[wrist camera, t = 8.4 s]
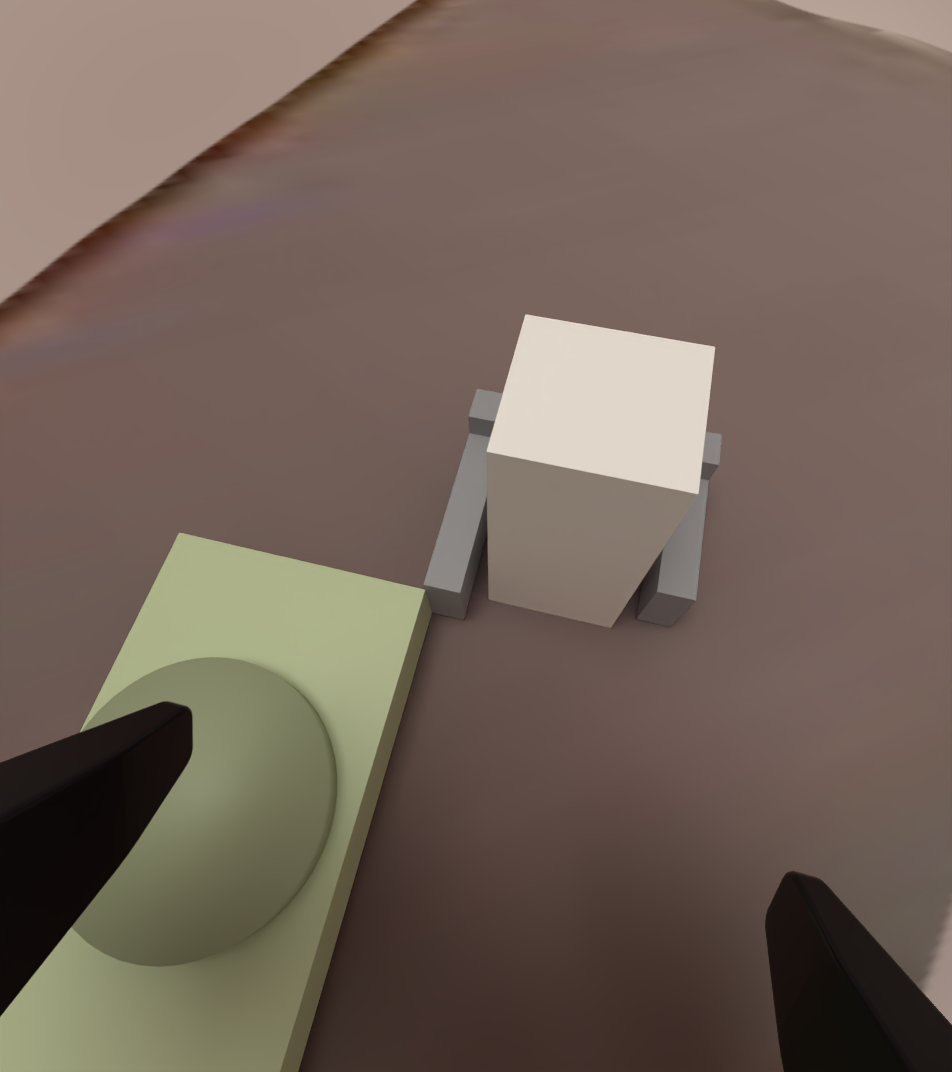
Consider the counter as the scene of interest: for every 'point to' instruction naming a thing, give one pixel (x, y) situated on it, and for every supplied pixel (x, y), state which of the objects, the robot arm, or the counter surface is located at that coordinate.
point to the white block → (591, 464)
